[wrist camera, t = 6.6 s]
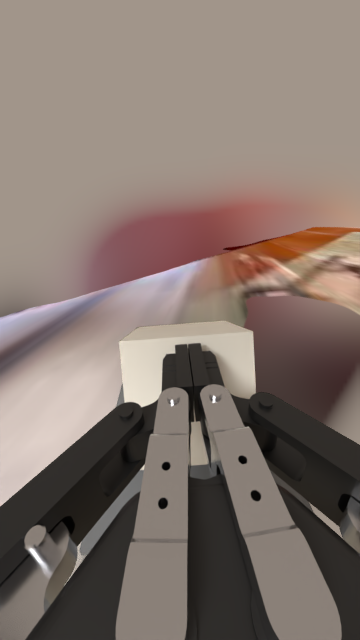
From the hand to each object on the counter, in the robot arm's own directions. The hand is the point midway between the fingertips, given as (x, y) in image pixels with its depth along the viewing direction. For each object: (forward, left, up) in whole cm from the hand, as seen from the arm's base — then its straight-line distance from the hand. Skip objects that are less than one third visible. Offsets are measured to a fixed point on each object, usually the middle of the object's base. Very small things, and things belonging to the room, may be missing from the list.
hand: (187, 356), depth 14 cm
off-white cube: (+1, +1, -8) cm, 8 cm away
